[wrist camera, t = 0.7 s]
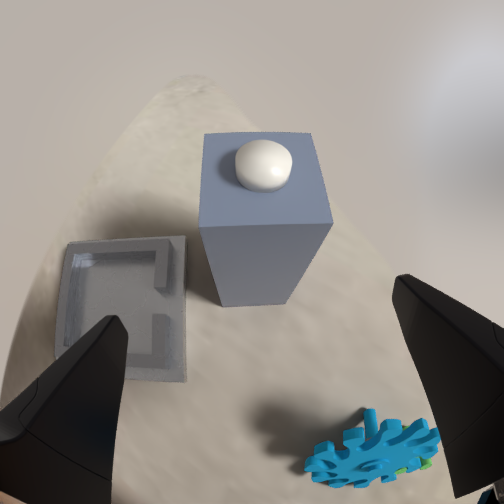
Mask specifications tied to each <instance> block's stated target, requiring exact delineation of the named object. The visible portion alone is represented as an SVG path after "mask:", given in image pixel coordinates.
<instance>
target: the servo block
mask: <svg viewBox="0 0 504 504" xmlns="http://www.w3.org/2000/svg"><path fill="white" fill-rule="evenodd" d="M332 225H333V219H332V214H331V210H330V205H329V201H328V197H327V193H326V188H325V184H324V180H323V177H322V173H321V169H320V165H319V161H318V158H317V154H316V150H315V147H314V143H313V140H312V136H311V133H290V132H235V133H212V134H204V145H203V158H202V172H201V187H200V205H199V231H200V234H201V238H202V241H203V245H204V248H205V251H206V255H207V258H208V262H209V265H210V268H211V272H212V275H213V278H214V281H215V285H216V288H217V291H218V294H219V297H220V300H221V304H222V307H238V306H260V305H278V304H285V303H286V302H287V300H288V299H289V297H290V295H291V294H292V292H293V291H294V289H295V287H296V286H297V284H298V283H299V281H300V279H301V278H302V276H303V274H304V273H305V271H306V269H307V268H308V266H309V264H310V263H311V261H312V259H313V258H314V256H315V254H316V253H317V251H318V249H319V248H320V246H321V244H322V242H323V241H324V239H325V237H326V236H327V234H328V232H329V230H330V229H331V227H332Z"/></svg>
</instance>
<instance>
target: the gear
mask: <svg viewBox="0 0 504 504" xmlns="http://www.w3.org/2000/svg"><path fill="white" fill-rule="evenodd" d="M363 415H364V425H365V436H366V440H365V436H364V429H363V428H362V427H358V428H352V429H348V430H344V431H343V445H344V446H346V447H348V448H347V449H346V450H342V451H337V450H334V443H333V442H331V441H325V442H322V443H319V444H317V445H315V446H314V456H310V457H308V458H307V459H306V461H305V467H304V471H307V472H312V477H311V479H312V481H313V482H322V481H326V480H329V483H328V486H330V487H333V488H340V487H342V486H344V485H346V484H348V483H350V482H354V488H365V487H367V486H369V483H370V482H371V481H373V480H374V479H376V478H378V477H380V476H381V483H386V482H390V481H394V480H396V479H397V477H396V474H401V473H403V472H405V471H406V472H407V473H410V472H413V471H415V470H417V469H419V468H420V470H423V469H427V468H429V467H430V466H431V465H432V462H431V457H432V456H434V455H435V454H436V453H437V452H438V447H437V444H438V443H439V442H440V440H441V438H440V435H439V431H438V428H437V427H436V428H433V429H431V430H429V427H428V423H427V421H426V420H425V419H423V418H420V419H418V420H416V421H414V422H413V423H412V424H411V425H410V426H405V427H404V428H403V429H402V425H401V420H398V419H386V420H384V421H383V422H382V423H381V424H380V429H379V431H378V426H377V419H376V412H375V409H367V410H365V411H364V413H363ZM326 460H328V461H326Z"/></svg>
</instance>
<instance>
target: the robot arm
mask: <svg viewBox="0 0 504 504" xmlns="http://www.w3.org/2000/svg"><path fill="white" fill-rule="evenodd" d="M392 302H393V305H394V308H395V311H396V314H397V317H398V320H399V323H400V326H401V330H402V333H403V336H404V339H405V342H406V344H407V347H408V349H409V352H410V354H411V356H412V359H413V361H414V364H415V366H416V369H417V371H418V374H419V376H420V379H421V382H422V384H423V387H424V390H425V392H426V395H427V398H428V401H429V404H430V407H431V409H432V412H433V415H434V419H435V422H436V425H437V428H438V431H439V435H440V438H441V441H442V445H443V448H444V453H445V457H446V461H447V465H448V469H449V473H450V477H451V482H452V487H453V492H454V496H455V499H457V498H459V497H462V496H465V495H467V494H470V493H472V492H474V491H477V490H479V489H481V488H483V487H486V486H488V485H490V484H492V483H493V486H491V487H490V488H489V489H487V490H486V491H484V492H483V493H482V495H481V497H480V499H479V501H478V503H477V504H504V328H502V327H500V326H499V325H497V324H496V323H494V322H491V320H489V319H487V318H486V317H484V316H482V315H481V314H479V313H477V312H476V311H474V310H472V309H471V308H469V307H467V306H465V305H464V304H462V303H460V302H459V301H457V300H455V299H453V298H451V297H449V296H448V295H446V294H444V293H443V292H441V291H439V290H437V289H435V288H434V287H432V286H430V285H428V284H426V283H425V282H422V281H421V280H419V279H417V278H415V277H413V276H412V275H410V274H404V275H399V276H397V277H396V279H395V283H394V288H393V293H392ZM128 340H129V336H128V332H127V330H126V328H125V327H124V325H123V323H122V321H121V320H120V318H119V317H118V316H117V315H106V316H105V317H104V318H102V319H101V320H100V321H99V322H98V323H97V324H96V325H94V326H93V327H92V328H91V329H90V330H89V331H88V332H86V333H85V334H84V335H83V336H82V337H81V338H80V339H79V340H78V341H76V342H75V343H74V344H73V345H72V346H71V347H70V348H69V349H68V350H66V351H65V352H64V353H63V354H62V355H61V356H60V357H59V358H58V359H57V360H56V361H55V362H54V363H52V364H51V365H50V366H49V367H48V368H47V369H46V370H45V371H44V372H43V373H42V374H41V375H40V376H39V378H37V379H36V380H35V381H34V382H32V383H31V384H30V385H29V386H28V387H27V388H26V389H25V390H24V391H23V392H22V393H21V394H20V395H18V396H17V397H16V398H15V399H14V400H13V401H12V402H10V403H9V404H8V405H7V406H6V407H5V408H3V409H2V410H1V411H0V504H111V490H112V471H113V458H114V448H115V439H116V430H117V423H118V416H119V409H120V402H121V396H122V390H123V385H124V378H125V370H126V359H127V349H128Z"/></svg>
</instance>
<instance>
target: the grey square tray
mask: <svg viewBox="0 0 504 504" xmlns="http://www.w3.org/2000/svg"><path fill="white" fill-rule="evenodd" d="M187 241H188V240H187V238H186V235H180V236H160V237H141V238H124V239H107V240H92V241H77V242H70V244H68V246H67V251H66V256H65V261H64V266H63V272H62V278H61V284H60V291H59V299H58V308H57V318H56V331H55V351H54V357H56V360H57V359H58V358H59V357H60V356H61V355H62V354H63V353H64V352H65V351H66V350H68V349H69V348H70V347H71V346H72V345H73V344H74V343H75V342H76V341H78V340H79V339H80V338H81V337H82V336H83V335H84V334H85V333H86V332H88V331H89V330H90V329H91V328H92V327H93V326H94V325H96V324H97V323H98V322H99V321H100V320H101V319H102V318H104V317H105V316H106V315H117V316H118V317H119V318H120V320H121V321H122V323H123V325H124V327H125V328H126V330H127V332H128V336H129V340H128V349H127V359H126V370H125V379H135V380H146V381H161V382H187V375H186V264H187Z"/></svg>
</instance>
